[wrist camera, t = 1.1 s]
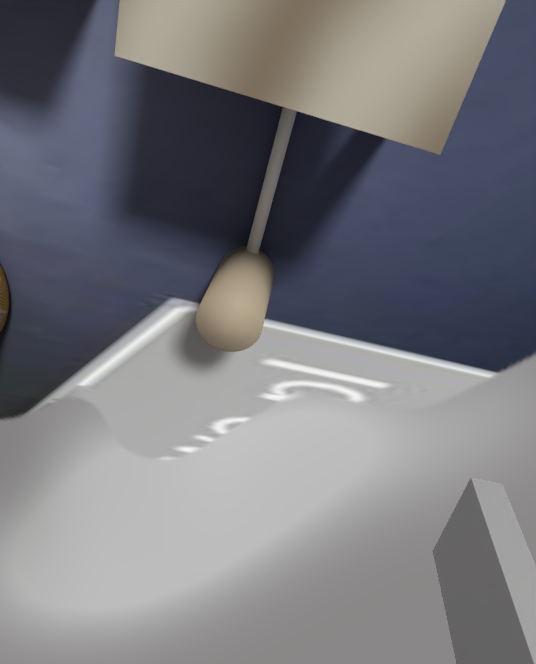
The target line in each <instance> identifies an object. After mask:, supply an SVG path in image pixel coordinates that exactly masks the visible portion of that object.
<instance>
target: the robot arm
mask: <svg viewBox="0 0 536 664" xmlns="http://www.w3.org/2000/svg"><path fill="white" fill-rule="evenodd" d="M433 554H434V559H435V563H436V568H437V573H438V578H439V582H440V586H441V592H442V597H443V601H444V606H445V610H446V615H447V620H448V625H449V629H450V634H451V639H452V644H453V648H454V653H455V658H456V663H457V664H536V566H535V564H534V561H533V559H532V556H531V554H530V551H529V549H528V546H527V544H526V542H525V539H524V536H523V534H522V532H521V529H520V527H519V524H518V522H517V519H516V517H515V514H514V512H513V510H512V507H511V505H510V502H509V499H508V497H507V495H506V492H505V490H504V487H503V485H502V484H500V483H494V482H490V481H485V480H480V479H475V478H470V481H469V482H468V484H467V487H466V488H465V490H464V492H463V494H462V496H461V498H460V500H459V502H458V504H457V505H456V507H455V509H454V511H453V513H452V515H451V517H450V519H449V521H448V523H447V525H446V527H445V528H444V531H443V532H442V534H441V536H440V538H439V540H438V542H437V544H436V546H435V548H434V550H433Z"/></svg>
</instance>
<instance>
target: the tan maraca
mask: <svg viewBox="0 0 536 664" xmlns="http://www.w3.org/2000/svg"><path fill="white" fill-rule="evenodd" d="M296 113H297V111H295V110H292V109H288V108H285V107H283V109H282V112H281V116H280V120H279V124H278V128H277V132H276V136H275V140H274V143H273V147H272V151H271V155H270V159H269V163H268V167H267V171H266V174H265V178H264V182H263V186H262V190H261V194H260V198H259V202H258V205H257V209H256V213H255V217H254V221H253V225H252V229H251V233H250V236H249V240H248V244H247V246H242V247H237V248H234V249H232V250H231V251H229V252H228V253H227V254H226V255H225V256H224V257H223V259H222V261H221V263H220V265H219V267H218V269H217V271H216V273H215V275H214V277H213V279H212V281H211V283H210V285H209V287H208V289H207V291H206V293H205V295H204V297H203V299H202V301H201V303H200V305H199V307H198V310H197V313H196V326H197V329H198V331H199V333H200V335H201V336H202V338H203V339H204V340H205V341H206V342H207V343H209V344H210V345H211V346H213V347H215V348H217V349H220V350H223V351H229V352H235V351H241V350H244V349H247V348H249V347H250V346H252V345H253V344H254V343H255V342H256V341H257V340H258V338H259V337H260V334H261V332H262V327H263V323H264V319H265V314H266V310H267V306H268V302H269V297H270V293H271V289H272V285H273V280H274V267H273V264H272V262H271V260H270V259H269V258H268V256H267V255H266V254H264V253H263V252H262V251H260V250H259V249H260V245H261V241H262V238H263V234H264V230H265V227H266V223H267V219H268V216H269V212H270V208H271V205H272V201H273V197H274V194H275V190H276V186H277V183H278V179H279V175H280V172H281V168H282V164H283V161H284V157H285V153H286V150H287V146H288V142H289V139H290V135H291V131H292V128H293V124H294V120H295V117H296Z"/></svg>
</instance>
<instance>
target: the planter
mask: <svg viewBox="0 0 536 664" xmlns="http://www.w3.org/2000/svg"><path fill="white" fill-rule="evenodd" d="M8 309H9V291H8V285H7V281H6V277H5V274H4V271H3V269H2V266H1V264H0V332H1V331H2V329H3V327H4V325H5V322H6V319H7V315H8Z"/></svg>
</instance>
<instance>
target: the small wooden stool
mask: <svg viewBox="0 0 536 664" xmlns="http://www.w3.org/2000/svg"><path fill="white" fill-rule="evenodd" d="M505 1H506V0H120V5H119V15H118V25H117V35H116V46H115V56H117V57H121V58H124V59H127V60H130V61H134V62H137V63H140V64H144V65H147V66H150V67H153V68H157V69H160V70H163V71H167V72H170V73H173V74H176V75H180V76H183V77H186V78H190V79H193V80H196V81H199V82H203V83H206V84H209V85H213V86H216V87H219V88H222V89H226V90H229V91H232V92H236V93H239V94H242V95H246V96H249V97H252V98H255V99H259V100H262V101H265V102H269V103H272V104H275V105H278V106H282V107H285V108H288V109H292V110H295V111H298V112H301V113H305V114H308V115H311V116H315V117H318V118H321V119H324V120H328V121H331V122H334V123H338V124H341V125H344V126H347V127H351V128H354V129H357V130H361V131H364V132H367V133H370V134H374V135H377V136H380V137H384V138H387V139H390V140H393V141H397V142H400V143H403V144H407V145H410V146H413V147H416V148H420V149H423V150H426V151H430V152H433V153H436V154H439V155H440V154H441V152H442V149H443V147H444V145H445V142H446V140H447V138H448V135H449V133H450V131H451V128H452V126H453V123H454V121H455V119H456V116H457V114H458V112H459V109H460V107H461V105H462V102H463V100H464V98H465V95H466V93H467V90H468V88H469V86H470V83H471V81H472V79H473V76H474V74H475V72H476V69H477V67H478V64H479V62H480V60H481V57H482V55H483V53H484V50H485V48H486V46H487V43H488V41H489V39H490V36H491V34H492V31H493V29H494V27H495V24H496V22H497V20H498V17H499V15H500V13H501V10H502V8H503V6H504V3H505Z"/></svg>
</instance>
